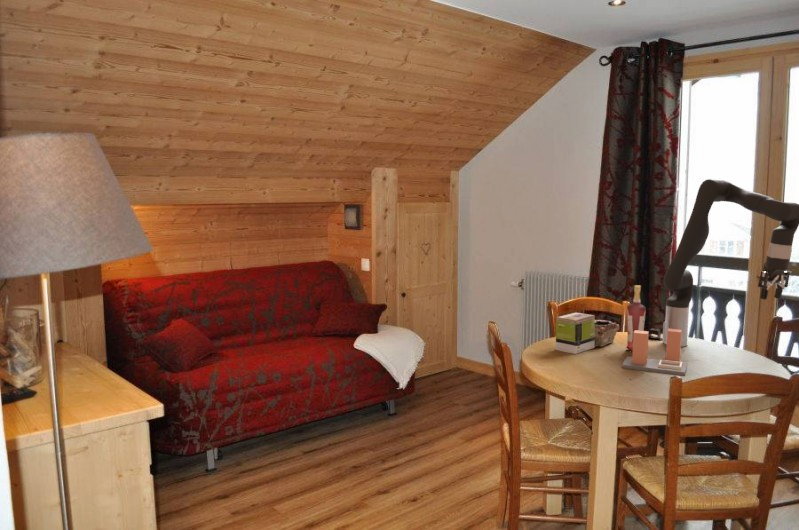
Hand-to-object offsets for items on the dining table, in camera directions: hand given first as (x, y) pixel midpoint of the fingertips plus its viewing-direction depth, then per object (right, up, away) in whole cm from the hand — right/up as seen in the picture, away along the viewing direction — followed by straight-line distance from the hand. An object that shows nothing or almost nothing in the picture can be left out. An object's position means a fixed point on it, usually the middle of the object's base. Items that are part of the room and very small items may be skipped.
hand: (770, 298), depth 238 cm
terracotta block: (-29, -26, +18) cm, 42 cm away
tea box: (-64, -24, +34) cm, 76 cm away
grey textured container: (-50, -22, +46) cm, 71 cm away
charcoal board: (-41, -27, +7) cm, 49 cm away
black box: (-22, -22, +54) cm, 62 cm away
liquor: (-39, -24, +31) cm, 56 cm away
